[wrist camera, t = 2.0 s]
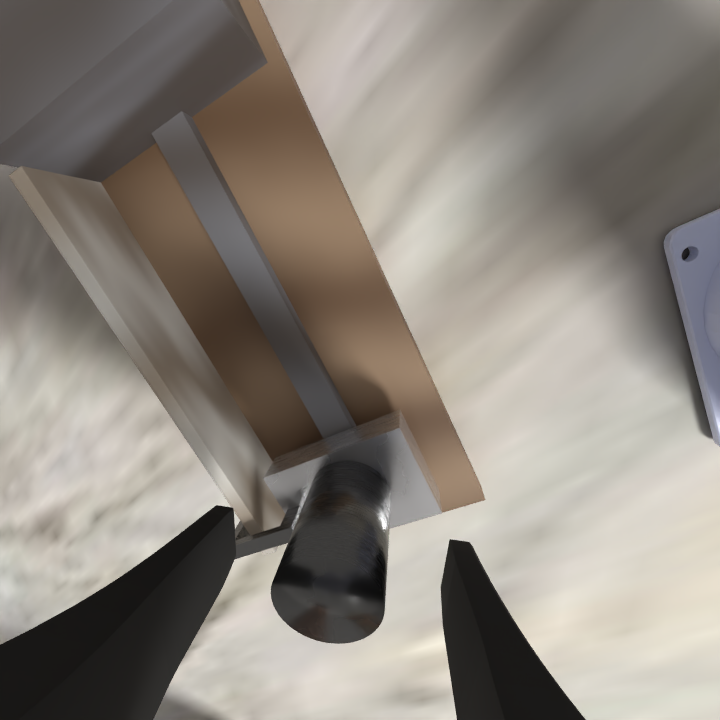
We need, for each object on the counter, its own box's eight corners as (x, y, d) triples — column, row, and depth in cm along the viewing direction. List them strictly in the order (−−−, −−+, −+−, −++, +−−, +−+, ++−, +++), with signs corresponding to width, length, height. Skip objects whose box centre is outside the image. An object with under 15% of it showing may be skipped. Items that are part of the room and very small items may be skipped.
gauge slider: (438, 488, 15) (457, 631, 9) (275, 539, 17) (212, 681, 11) (400, 409, 14) (395, 516, 8) (232, 473, 16) (140, 593, 11)
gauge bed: (480, 485, 17) (509, 578, 12) (316, 536, 19) (286, 631, 14) (247, -25, 12) (141, -205, 7) (62, 123, 14) (-111, 62, 9)
